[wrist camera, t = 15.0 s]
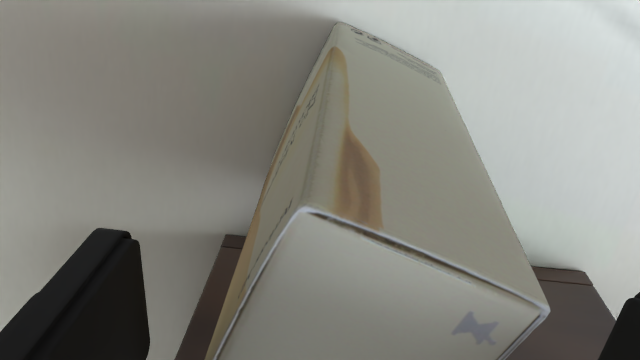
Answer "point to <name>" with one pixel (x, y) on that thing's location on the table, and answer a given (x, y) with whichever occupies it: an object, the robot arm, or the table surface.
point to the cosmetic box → (377, 227)
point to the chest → (530, 356)
